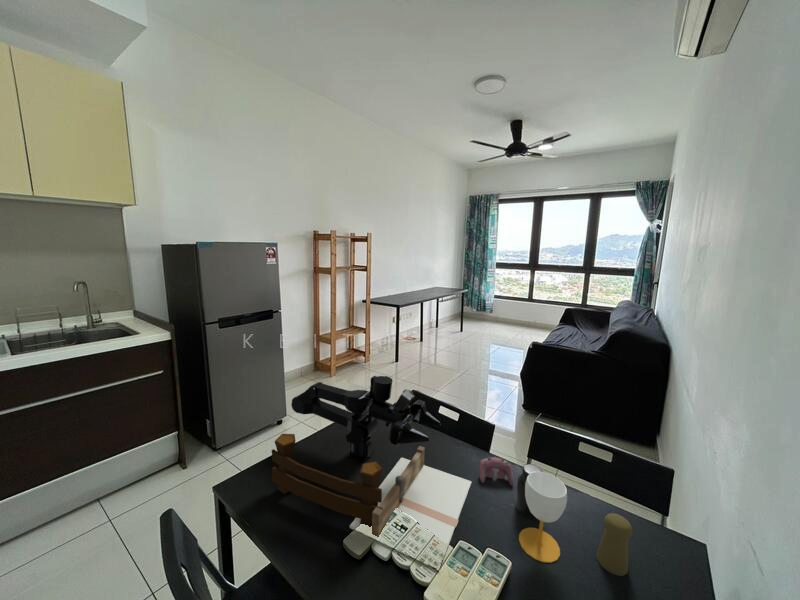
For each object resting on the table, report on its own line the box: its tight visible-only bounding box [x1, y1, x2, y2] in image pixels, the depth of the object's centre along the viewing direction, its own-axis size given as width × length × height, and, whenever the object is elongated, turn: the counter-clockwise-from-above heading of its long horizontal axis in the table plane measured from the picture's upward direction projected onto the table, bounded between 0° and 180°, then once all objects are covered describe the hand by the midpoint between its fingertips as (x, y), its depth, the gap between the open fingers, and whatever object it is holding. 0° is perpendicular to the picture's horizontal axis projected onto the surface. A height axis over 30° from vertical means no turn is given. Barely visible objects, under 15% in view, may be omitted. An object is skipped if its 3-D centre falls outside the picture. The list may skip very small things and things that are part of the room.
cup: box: [518, 471, 568, 564], centre depth 75 cm, size 9×9×16 cm
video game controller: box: [479, 456, 515, 487], centre depth 97 cm, size 10×5×7 cm, turn 84°
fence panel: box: [400, 445, 426, 496], centre depth 94 cm, size 15×2×6 cm, turn 154°
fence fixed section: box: [372, 476, 404, 537], centre depth 81 cm, size 2×14×6 cm, turn 155°
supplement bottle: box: [515, 463, 544, 520], centre depth 85 cm, size 7×7×12 cm
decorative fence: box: [271, 433, 384, 527], centre depth 84 cm, size 34×6×15 cm, turn 67°
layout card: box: [349, 457, 472, 546], centre depth 87 cm, size 23×30×1 cm
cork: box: [595, 512, 633, 577], centre depth 71 cm, size 6×6×11 cm
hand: (434, 431), depth 93 cm, fingers open, 9 cm apart
